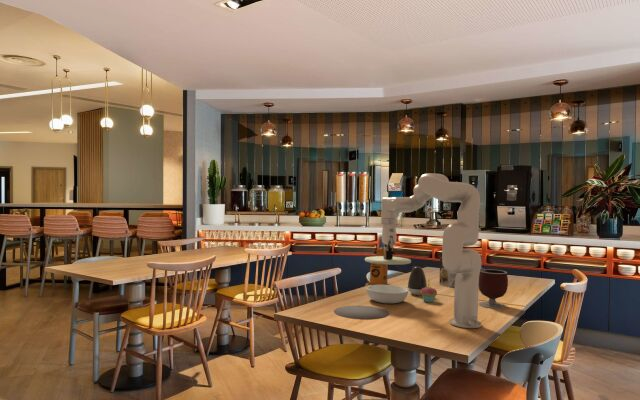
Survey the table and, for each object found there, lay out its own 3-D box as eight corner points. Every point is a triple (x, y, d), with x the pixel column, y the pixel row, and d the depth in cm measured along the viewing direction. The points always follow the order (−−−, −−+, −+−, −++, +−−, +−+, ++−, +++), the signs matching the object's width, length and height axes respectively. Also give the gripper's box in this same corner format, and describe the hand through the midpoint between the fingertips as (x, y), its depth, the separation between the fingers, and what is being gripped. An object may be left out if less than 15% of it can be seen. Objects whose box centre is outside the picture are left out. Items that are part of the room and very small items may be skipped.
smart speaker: (419, 291, 259) (420, 264, 259) (430, 295, 250) (431, 267, 249) (403, 292, 256) (404, 265, 256) (414, 296, 246) (414, 268, 246)
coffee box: (438, 284, 283) (439, 258, 283) (447, 283, 286) (447, 257, 285) (448, 287, 275) (449, 260, 274) (457, 286, 277) (458, 259, 277)
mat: (396, 320, 197) (396, 319, 197) (338, 321, 194) (338, 319, 194) (381, 306, 222) (381, 305, 222) (329, 307, 218) (329, 305, 218)
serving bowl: (375, 308, 219) (375, 293, 219) (360, 298, 239) (360, 285, 239) (415, 306, 225) (415, 292, 225) (397, 296, 245) (397, 283, 245)
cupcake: (437, 303, 231) (437, 279, 231) (419, 302, 232) (420, 278, 232) (436, 299, 239) (437, 276, 239) (419, 298, 241) (420, 275, 241)
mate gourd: (505, 303, 234) (506, 264, 233) (509, 310, 220) (510, 268, 220) (473, 301, 238) (474, 262, 238) (474, 307, 224) (475, 266, 224)
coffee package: (366, 285, 275) (367, 248, 275) (374, 281, 286) (375, 246, 286) (382, 287, 271) (383, 249, 270) (389, 283, 282) (390, 247, 281)
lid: (417, 264, 222) (417, 250, 222) (370, 264, 219) (371, 249, 219) (402, 258, 245) (403, 245, 245) (360, 258, 242) (360, 244, 242)
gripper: (401, 222, 224) (400, 260, 224) (391, 221, 240) (390, 256, 241) (386, 222, 223) (385, 260, 223) (377, 220, 239) (376, 256, 240)
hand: (387, 257), depth 232 cm, fingers closed on lid, 4 cm apart
